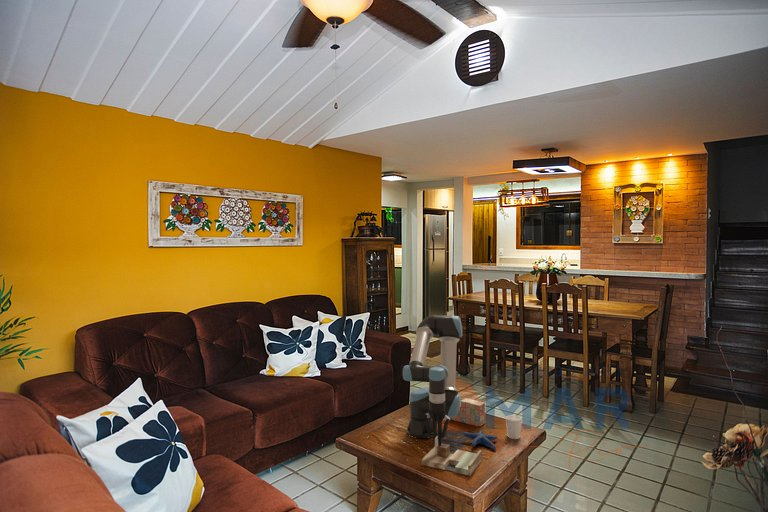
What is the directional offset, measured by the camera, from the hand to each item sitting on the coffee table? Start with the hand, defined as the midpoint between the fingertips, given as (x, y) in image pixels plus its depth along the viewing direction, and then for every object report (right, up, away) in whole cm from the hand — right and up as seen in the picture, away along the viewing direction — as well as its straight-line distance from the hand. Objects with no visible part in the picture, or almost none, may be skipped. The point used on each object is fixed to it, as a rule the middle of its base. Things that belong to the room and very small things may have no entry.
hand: (437, 451), depth 216 cm
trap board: (+6, -4, -3) cm, 8 cm away
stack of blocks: (+22, -3, +48) cm, 52 cm away
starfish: (+25, -4, +16) cm, 30 cm away
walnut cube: (+3, -1, -1) cm, 3 cm away
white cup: (+43, -3, +25) cm, 50 cm away
